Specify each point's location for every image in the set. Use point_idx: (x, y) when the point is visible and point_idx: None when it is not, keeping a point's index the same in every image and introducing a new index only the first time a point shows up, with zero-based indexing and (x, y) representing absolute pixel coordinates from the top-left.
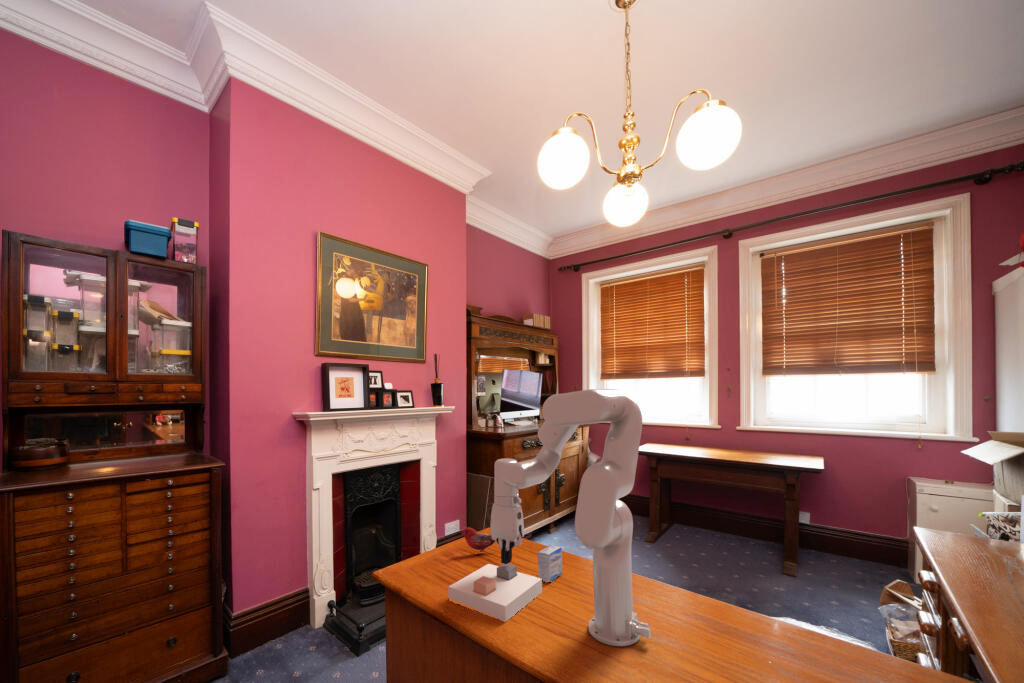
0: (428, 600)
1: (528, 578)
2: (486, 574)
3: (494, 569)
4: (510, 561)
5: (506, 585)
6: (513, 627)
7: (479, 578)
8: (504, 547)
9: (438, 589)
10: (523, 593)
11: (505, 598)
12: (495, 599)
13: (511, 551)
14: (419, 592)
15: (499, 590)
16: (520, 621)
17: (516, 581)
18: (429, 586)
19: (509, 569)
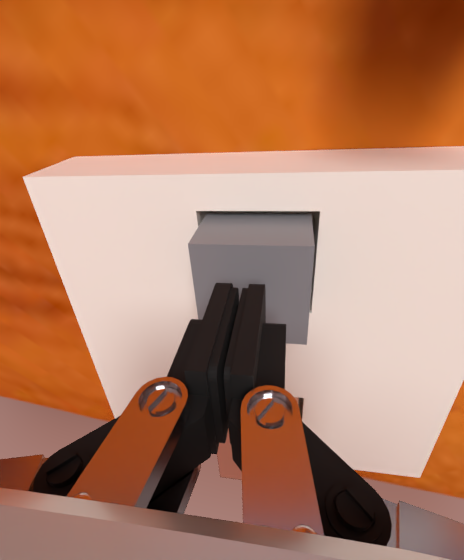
0: (95, 410)
1: (428, 225)
2: (148, 309)
3: (128, 234)
4: (265, 296)
5: (329, 359)
6: (443, 430)
7: (218, 453)
8: (210, 451)
9: (47, 356)
10: (460, 378)
11: (390, 441)
12: (351, 456)
13: (284, 385)
14: (30, 389)
15: (324, 404)
16: (456, 400)
17: (361, 300)
18: (7, 353)
19: (295, 322)
